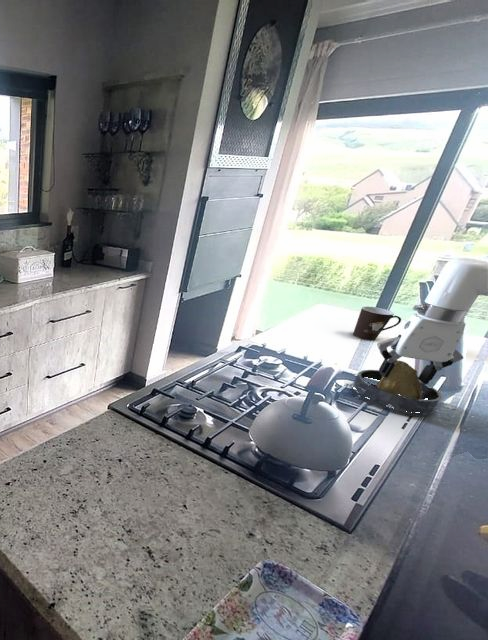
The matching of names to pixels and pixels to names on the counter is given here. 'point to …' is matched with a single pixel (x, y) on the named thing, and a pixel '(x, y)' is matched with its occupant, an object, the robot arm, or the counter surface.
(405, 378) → the rock
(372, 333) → the coffee mug
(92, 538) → the counter surface
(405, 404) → the dark grey ring
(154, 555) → the counter surface
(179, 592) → the counter surface
